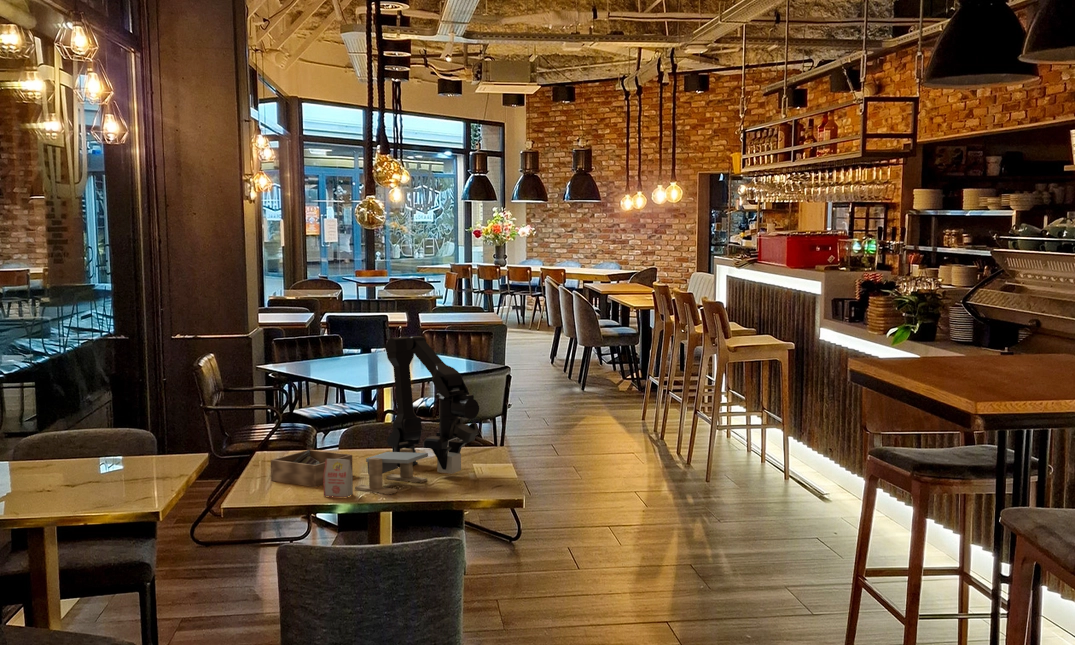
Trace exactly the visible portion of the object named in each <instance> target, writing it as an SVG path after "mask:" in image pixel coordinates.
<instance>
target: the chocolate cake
mask: <svg viewBox="0 0 1075 645" xmlns="http://www.w3.org/2000/svg"><path fill="white" fill-rule="evenodd" d="M306 450H307V451H306ZM306 450H305V451H306V452H305V453H304V454H302V455H301V456H299V457H298V458H297V459H296V460H295V461H293V462H295V463H303V464H311V465H317V464H320V463H319V461H317V460H315V459H314V458H312V457H311V455H310V450H311V449H306Z"/></svg>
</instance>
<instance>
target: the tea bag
mask: <svg viewBox="0 0 1075 645" xmlns="http://www.w3.org/2000/svg"><path fill="white" fill-rule="evenodd" d="M353 478H354V477H353V475H352V469H351V465H350V460H345V459H326V461H325V468H324V474H323V497H324V496H329V497H328V498H334V497H348V496H350V495H352V494H354V490H353V488H354V487H353V484H354V482H353V480H354V479H353ZM332 496H333V497H332ZM352 496H353V495H352ZM350 497H351V496H350Z"/></svg>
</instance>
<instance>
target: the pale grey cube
mask: <svg viewBox="0 0 1075 645" xmlns="http://www.w3.org/2000/svg"><path fill="white" fill-rule="evenodd" d="M436 461H437V464H436V466H437V473H441V474H442V473H443V474H450V475H452V474H455V473H458V472H460V471H462V453H461V452H460V453H452V452H449V451H448V457H447V467H446V470H444V469H442V467H441V465H440V463H439V461H438V459H437V458H436Z"/></svg>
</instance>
